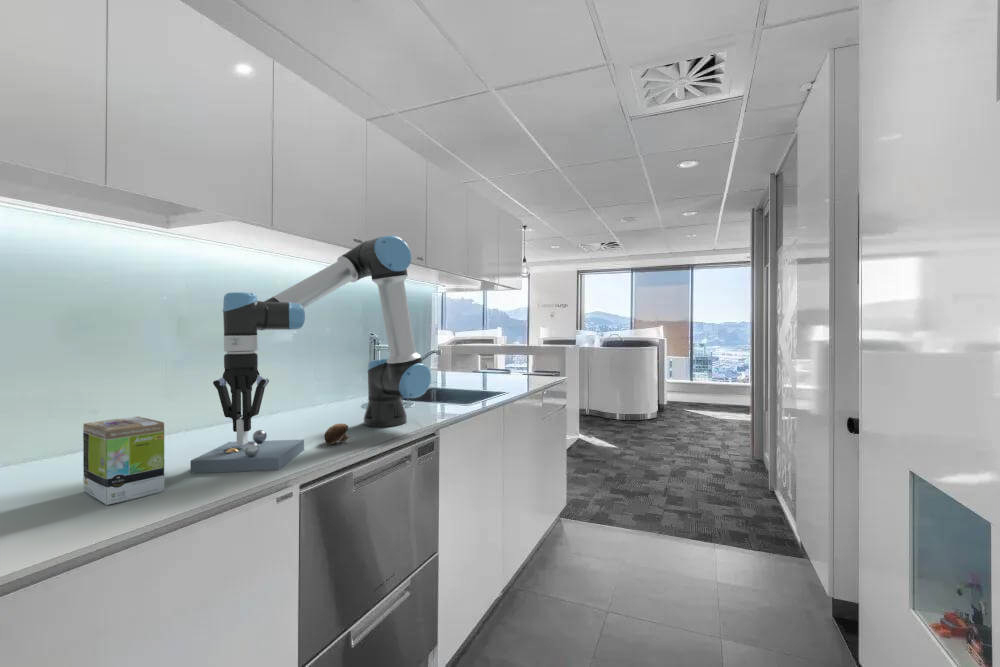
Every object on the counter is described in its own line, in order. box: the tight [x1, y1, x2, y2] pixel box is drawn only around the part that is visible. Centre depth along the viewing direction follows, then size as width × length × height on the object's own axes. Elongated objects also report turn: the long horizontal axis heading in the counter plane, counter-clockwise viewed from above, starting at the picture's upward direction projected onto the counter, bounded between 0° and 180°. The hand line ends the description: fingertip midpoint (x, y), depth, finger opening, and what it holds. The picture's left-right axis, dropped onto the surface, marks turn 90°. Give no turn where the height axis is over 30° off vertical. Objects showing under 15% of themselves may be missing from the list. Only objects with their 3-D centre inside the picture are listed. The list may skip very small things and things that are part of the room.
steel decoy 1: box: [244, 442, 260, 457], centre depth 109 cm, size 3×3×3 cm
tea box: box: [82, 416, 166, 506], centre depth 94 cm, size 15×10×15 cm, turn 56°
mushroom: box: [323, 423, 350, 445], centre depth 133 cm, size 8×8×6 cm
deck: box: [189, 439, 305, 474], centre depth 116 cm, size 20×18×3 cm
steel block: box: [252, 429, 268, 443], centre depth 123 cm, size 3×3×3 cm
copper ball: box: [226, 448, 239, 452], centre depth 115 cm, size 3×3×3 cm
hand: (242, 443), depth 115 cm, fingers closed
